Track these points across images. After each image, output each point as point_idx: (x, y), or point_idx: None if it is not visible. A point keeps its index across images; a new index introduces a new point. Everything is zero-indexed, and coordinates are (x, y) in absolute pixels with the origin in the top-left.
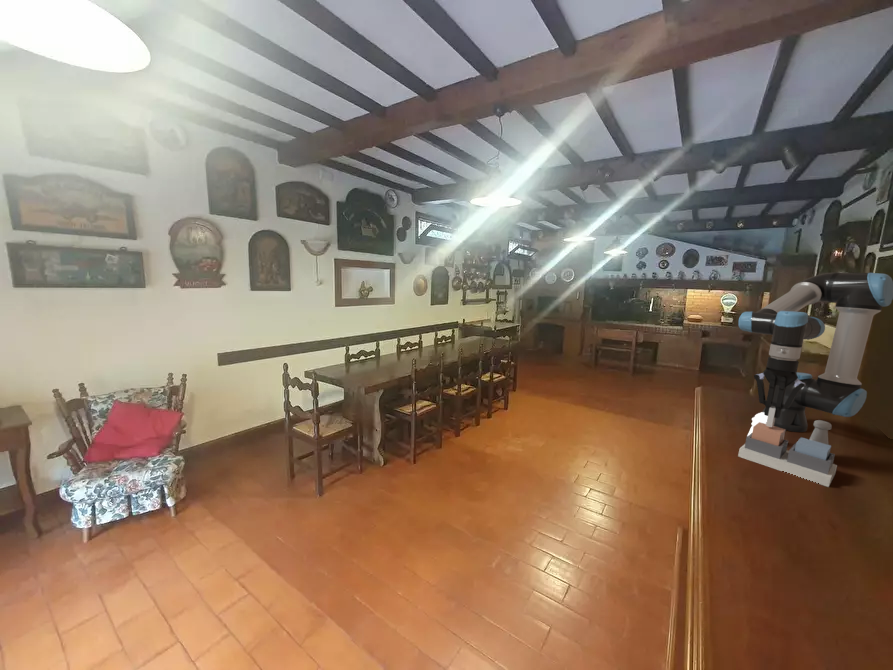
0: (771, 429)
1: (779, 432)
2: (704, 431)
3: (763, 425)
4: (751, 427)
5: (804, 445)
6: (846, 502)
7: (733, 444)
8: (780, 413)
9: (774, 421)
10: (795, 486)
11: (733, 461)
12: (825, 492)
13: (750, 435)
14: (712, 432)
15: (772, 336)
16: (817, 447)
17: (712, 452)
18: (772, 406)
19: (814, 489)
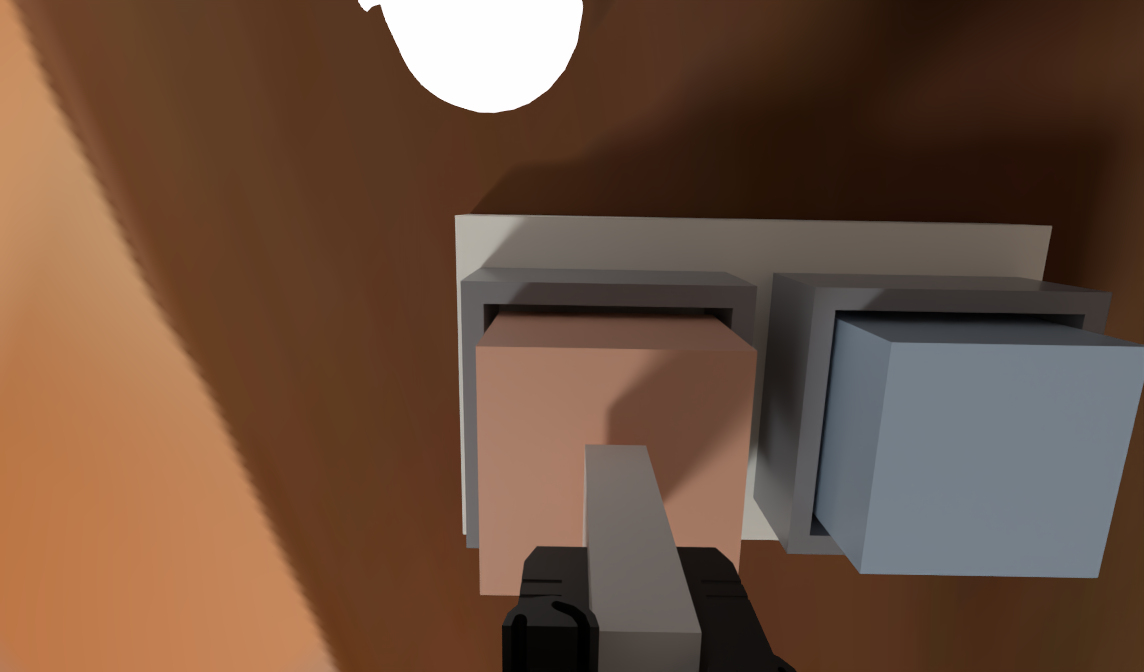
0: None
1: (719, 547)
2: (115, 172)
3: (543, 445)
4: (386, 21)
5: (920, 569)
6: (1013, 633)
7: (377, 277)
8: (749, 610)
9: (653, 477)
10: (801, 655)
11: (481, 607)
12: (930, 597)
13: (476, 465)
14: (162, 129)
15: None
16: (1024, 539)
17: (347, 578)
18: (612, 651)
19: (883, 608)
